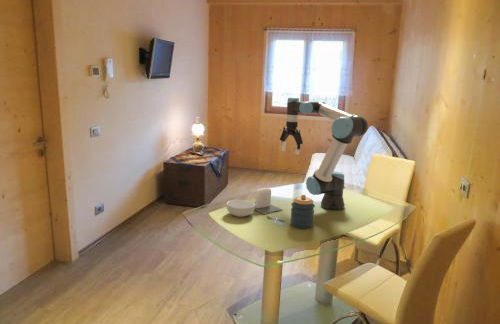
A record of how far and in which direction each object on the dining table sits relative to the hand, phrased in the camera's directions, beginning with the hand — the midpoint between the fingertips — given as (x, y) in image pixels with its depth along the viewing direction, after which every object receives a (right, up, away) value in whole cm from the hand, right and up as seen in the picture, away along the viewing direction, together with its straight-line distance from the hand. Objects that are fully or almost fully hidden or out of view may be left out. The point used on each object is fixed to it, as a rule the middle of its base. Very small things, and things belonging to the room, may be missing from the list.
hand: (290, 152), depth 260 cm
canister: (+2, -42, -43) cm, 60 cm away
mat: (-19, -35, -17) cm, 44 cm away
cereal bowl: (-33, -38, -31) cm, 59 cm away
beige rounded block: (-19, -35, -17) cm, 43 cm away
